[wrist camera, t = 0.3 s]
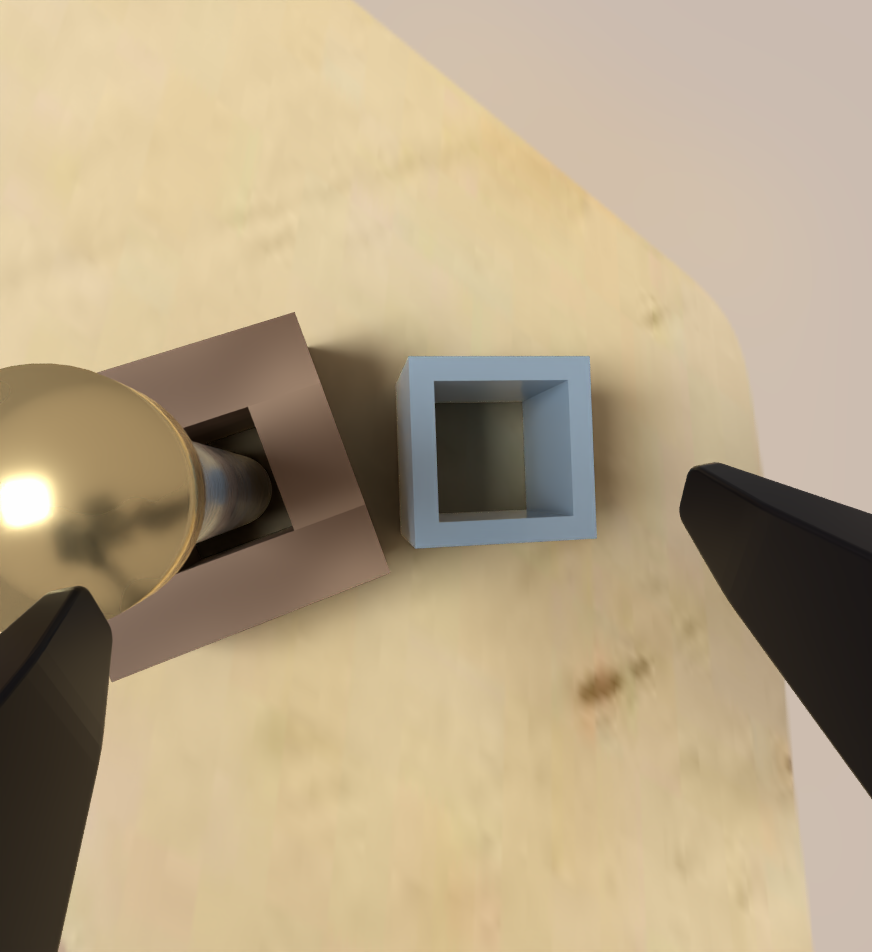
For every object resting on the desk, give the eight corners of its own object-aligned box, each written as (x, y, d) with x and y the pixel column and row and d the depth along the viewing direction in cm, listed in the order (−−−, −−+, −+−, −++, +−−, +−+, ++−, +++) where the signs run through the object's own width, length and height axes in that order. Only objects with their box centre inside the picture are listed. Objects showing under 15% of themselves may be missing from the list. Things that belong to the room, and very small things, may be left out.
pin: (307, 501, 22) (243, 526, 9) (222, 561, 22) (10, 692, 8) (247, 419, 22) (80, 310, 8) (159, 479, 21) (-175, 468, 8)
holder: (544, 527, 24) (596, 538, 19) (400, 534, 23) (415, 548, 18) (539, 382, 24) (589, 356, 19) (395, 384, 23) (408, 356, 18)
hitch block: (382, 555, 23) (390, 572, 18) (161, 641, 21) (111, 682, 17) (305, 346, 22) (294, 312, 18) (75, 419, 21) (1, 401, 16)
